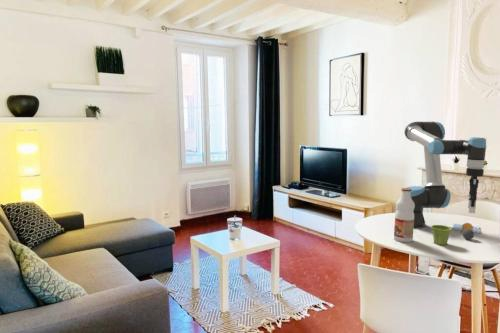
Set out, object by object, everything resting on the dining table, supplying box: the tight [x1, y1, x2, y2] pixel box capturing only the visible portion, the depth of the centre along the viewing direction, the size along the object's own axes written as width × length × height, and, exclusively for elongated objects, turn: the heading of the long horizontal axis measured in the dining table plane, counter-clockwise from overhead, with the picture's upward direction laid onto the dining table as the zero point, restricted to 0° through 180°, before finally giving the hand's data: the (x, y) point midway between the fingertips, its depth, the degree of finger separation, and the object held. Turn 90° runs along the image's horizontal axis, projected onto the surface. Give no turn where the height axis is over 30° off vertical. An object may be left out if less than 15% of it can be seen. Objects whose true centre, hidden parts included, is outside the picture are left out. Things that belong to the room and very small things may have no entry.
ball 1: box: [461, 222, 473, 232], centre depth 213 cm, size 6×6×6 cm
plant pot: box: [431, 224, 452, 246], centre depth 193 cm, size 9×9×9 cm
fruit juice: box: [393, 187, 415, 243], centre depth 197 cm, size 9×9×28 cm
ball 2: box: [462, 229, 475, 240], centre depth 201 cm, size 6×6×6 cm
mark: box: [452, 223, 482, 234], centre depth 221 cm, size 14×14×1 cm
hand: (471, 210), depth 191 cm, fingers open, 11 cm apart
